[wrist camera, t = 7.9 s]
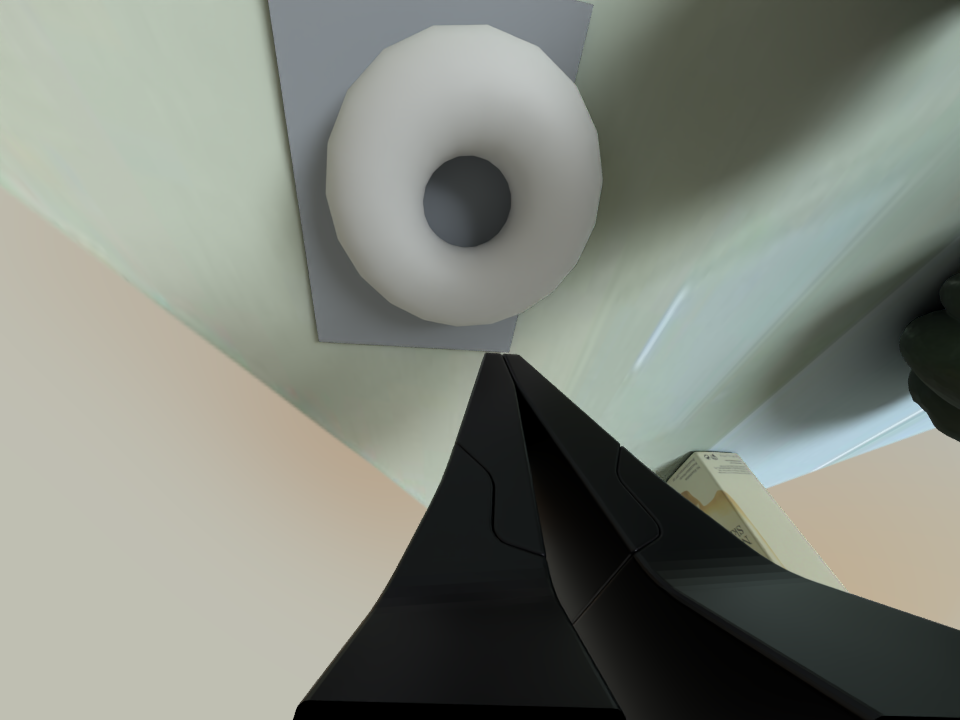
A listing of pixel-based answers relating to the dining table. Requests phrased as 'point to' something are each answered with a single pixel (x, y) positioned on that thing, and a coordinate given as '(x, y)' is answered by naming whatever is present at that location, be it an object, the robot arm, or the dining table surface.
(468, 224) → the mat
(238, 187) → the dining table surface
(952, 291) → the squash
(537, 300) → the donut
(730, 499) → the skincare box
